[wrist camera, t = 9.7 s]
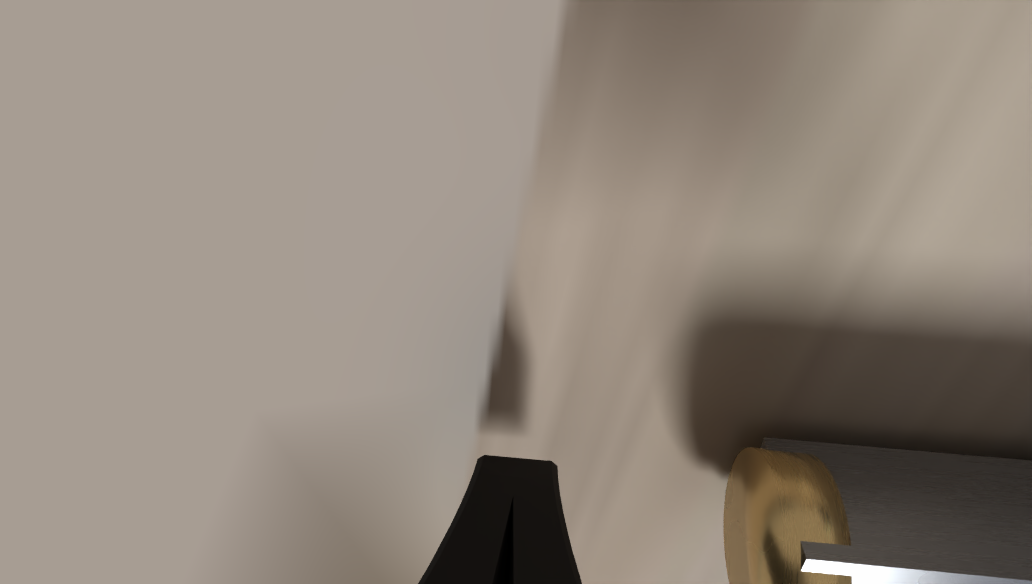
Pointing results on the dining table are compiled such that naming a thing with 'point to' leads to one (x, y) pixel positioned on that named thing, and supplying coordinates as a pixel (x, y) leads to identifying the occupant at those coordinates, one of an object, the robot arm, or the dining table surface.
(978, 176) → the dining table surface
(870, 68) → the dining table surface
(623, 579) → the dining table surface
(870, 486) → the shaft
